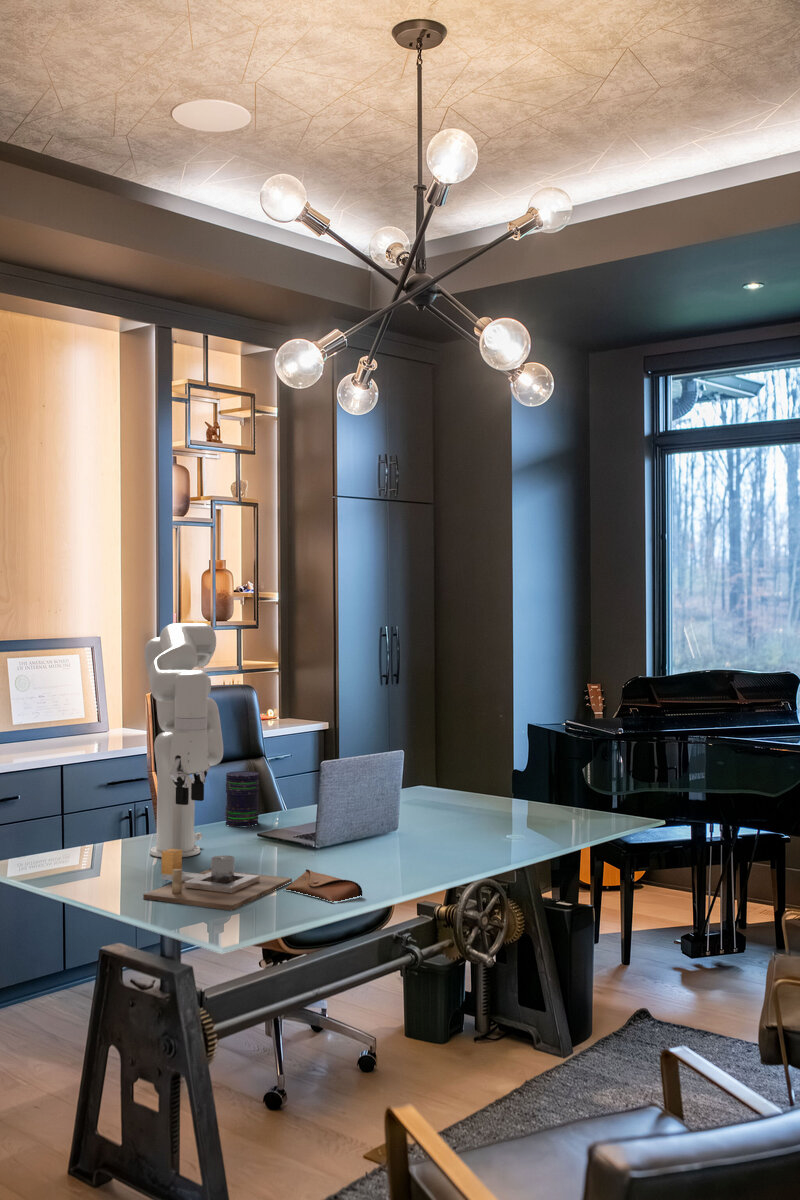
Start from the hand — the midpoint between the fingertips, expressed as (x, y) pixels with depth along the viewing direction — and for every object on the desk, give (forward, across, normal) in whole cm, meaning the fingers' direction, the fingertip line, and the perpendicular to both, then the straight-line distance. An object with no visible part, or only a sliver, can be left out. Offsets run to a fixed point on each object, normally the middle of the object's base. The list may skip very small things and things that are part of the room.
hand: (189, 801), depth 248 cm
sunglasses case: (+18, +1, +35) cm, 40 cm away
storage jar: (+18, -62, -23) cm, 68 cm away
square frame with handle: (+16, +7, +9) cm, 20 cm away
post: (+17, +7, +14) cm, 22 cm away
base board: (+18, +8, +14) cm, 24 cm away
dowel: (+17, +17, +8) cm, 25 cm away
